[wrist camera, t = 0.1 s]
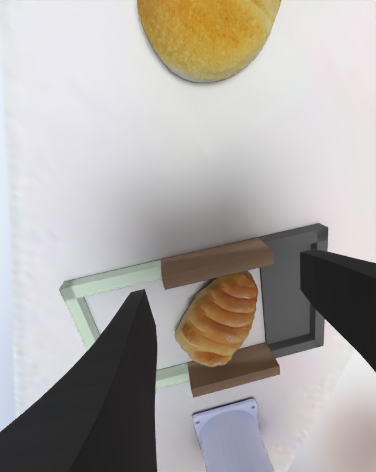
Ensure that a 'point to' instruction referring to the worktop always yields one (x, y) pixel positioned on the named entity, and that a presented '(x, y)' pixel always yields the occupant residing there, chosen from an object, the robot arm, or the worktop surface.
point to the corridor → (212, 266)
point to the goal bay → (109, 281)
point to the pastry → (218, 319)
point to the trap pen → (290, 292)
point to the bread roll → (207, 34)
